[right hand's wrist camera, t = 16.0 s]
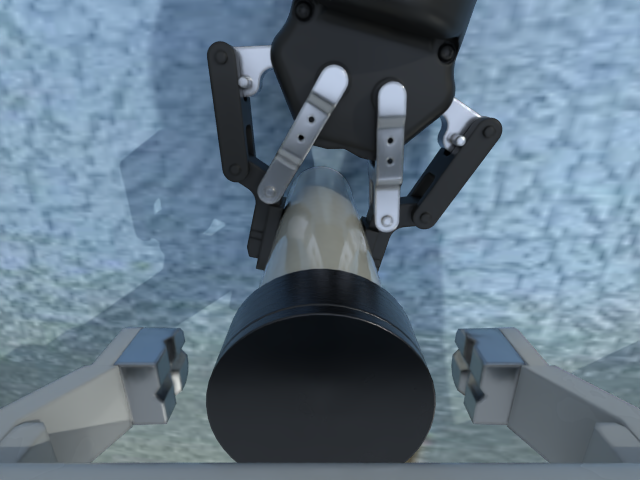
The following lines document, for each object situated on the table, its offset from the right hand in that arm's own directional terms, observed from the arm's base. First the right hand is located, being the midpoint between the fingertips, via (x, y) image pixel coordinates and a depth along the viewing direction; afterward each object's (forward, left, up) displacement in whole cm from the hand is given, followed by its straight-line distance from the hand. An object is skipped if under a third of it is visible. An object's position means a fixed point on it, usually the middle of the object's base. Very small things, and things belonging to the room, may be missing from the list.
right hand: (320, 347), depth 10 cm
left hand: (0, -3, -10) cm, 11 cm away
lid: (0, 0, +2) cm, 2 cm away
